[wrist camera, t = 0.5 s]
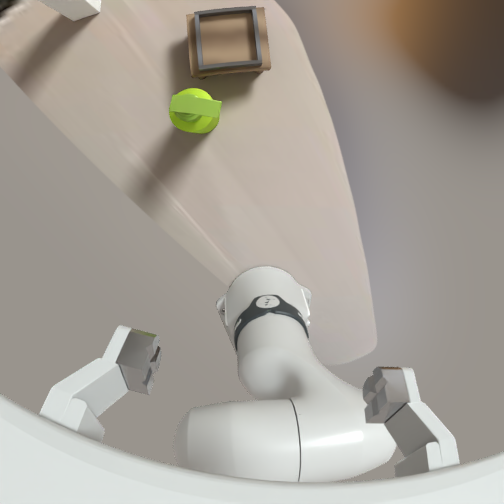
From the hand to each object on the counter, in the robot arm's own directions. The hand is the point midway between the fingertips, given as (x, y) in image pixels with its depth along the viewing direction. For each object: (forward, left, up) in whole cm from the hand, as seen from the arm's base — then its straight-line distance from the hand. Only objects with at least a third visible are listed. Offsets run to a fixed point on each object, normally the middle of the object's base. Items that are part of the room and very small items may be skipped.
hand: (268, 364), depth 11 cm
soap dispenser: (+12, +5, -45) cm, 46 cm away
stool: (+24, 0, -44) cm, 50 cm away
